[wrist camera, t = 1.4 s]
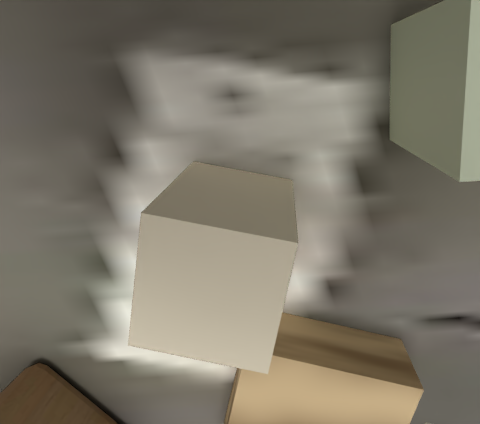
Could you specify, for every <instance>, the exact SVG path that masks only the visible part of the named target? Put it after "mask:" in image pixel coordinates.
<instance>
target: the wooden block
mask: <svg viewBox="0 0 480 424" xmlns="http://www.w3.org/2000/svg"><path fill="white" fill-rule="evenodd" d="M0 424H118V423H117V422H116V421H114V420H113V419H112V418H111V417H109V416H108V415H107V414H106V413H105V412H103V411H102V410H101V409H100V408H98V407H97V406H96V405H95V404H94V403H92V402H91V401H90V400H89V399H87V398H86V397H85V396H84V395H83V394H81V393H80V392H79V391H78V390H77V389H75V388H74V387H73V386H72V385H70V384H69V383H68V382H67V381H66V380H64V379H63V378H62V377H61V376H59V375H58V374H57V373H56V372H55V371H53V370H52V369H51V368H50V367H48V366H47V365H44V364H41V363H37V364H35V365H33V366H30V367H28V368H26V369H25V370H24V371H23V372H22V373H21V374H20V375H19V376H18V377H17V378H15V379H14V380H13V381H12V382H11V383H10V384H9V385H8V386H7V387H6V388H5V389H4V390H3V391H2V392H1V393H0Z"/></svg>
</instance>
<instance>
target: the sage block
mask: <svg viewBox="0 0 480 424" xmlns="http://www.w3.org/2000/svg"><path fill="white" fill-rule="evenodd" d="M389 140H391V141H393V142H394V143H396V144H397V145H399V146H401V147H402V148H404V149H406V150H407V151H409V152H411V153H412V154H414V155H416V156H417V157H419V158H421V159H422V160H424V161H426V162H427V163H429V164H431V165H432V166H434V167H436V168H437V169H439V170H440V171H442V172H444V173H445V174H447V175H449V176H450V177H452V178H454V179H455V180H457V181H459V182H468V181H480V0H444V1H442V2H440V3H438V4H435V5H433V6H431V7H429V8H427V9H425V10H422V11H420V12H418V13H416V14H414V15H411V16H409V17H407V18H405V19H403V20H400V21H398V22H396V23H394V24H392V25H391V53H390V133H389Z"/></svg>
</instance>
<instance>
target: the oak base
mask: <svg viewBox="0 0 480 424" xmlns="http://www.w3.org/2000/svg"><path fill="white" fill-rule="evenodd" d="M423 391H424V389H423V387H422V385H421V383H420V380H419V378H418V376H417V374H416V371H415V369H414V367H413V365H412V363H411V360H410V358H409V356H408V354H407V352H406V349H405V347H404V345H403V343H402V340H401V339H398V338H393V337H389V336H384V335H380V334H376V333H371V332H367V331H362V330H358V329H353V328H349V327H345V326H340V325H336V324H331V323H327V322H323V321H318V320H314V319H309V318H305V317H300V316H296V315H292V314H287V313H283V312H282V316H281V320H280V324H279V329H278V333H277V337H276V342H275V346H274V350H273V355H272V359H271V363H270V367H269V372H268V374H264V373H260V372H255V371H250V370H245V369H240V368H237V371H236V375H235V379H234V383H233V387H232V391H231V396H230V400H229V404H228V408H227V412H226V417H225V421H224V424H410V422H411V419H412V417H413V414H414V412H415V410H416V407H417V405H418V403H419V400H420V398H421V395H422V393H423Z"/></svg>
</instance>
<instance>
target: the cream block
mask: <svg viewBox="0 0 480 424" xmlns="http://www.w3.org/2000/svg"><path fill="white" fill-rule="evenodd" d="M297 247H298V235H297V224H296V214H295V203H294V193H293V182H292V180H290V179H285V178H279V177H274V176H269V175H263V174H258V173H253V172H247V171H242V170H237V169H231V168H226V167H221V166H215V165H210V164H205V163H199V162H193V163H192V164H191V165H190V166H188V167H187V168H186V169H185V170H184V171H183V172H182V173H181V174H180V175H179V176H178V177H177V178H176V179H175V180H174V181H173V182H172V183H171V184H170V185H169V186H168V187H167V188H166V189H165V190H164V191H163V192H162V193H161V194H160V195H159V196H158V197H157V198H156V199H155V200H154V201H153V202H152V203H151V204H150V205H149V206H148V207H147V208H146V209H145V210H144V211H142V212H141V219H140V229H139V239H138V250H137V260H136V270H135V280H134V290H133V300H132V310H131V320H130V330H129V340H128V346H133V347H138V348H143V349H148V350H153V351H158V352H162V353H167V354H172V355H177V356H182V357H187V358H192V359H196V360H201V361H206V362H211V363H216V364H221V365H226V366H230V367H235V368H240V369H245V370H250V371H255V372H260V373H264V374H268V372H269V367H270V363H271V359H272V355H273V350H274V346H275V342H276V337H277V333H278V329H279V324H280V320H281V316H282V311H283V307H284V303H285V298H286V294H287V290H288V285H289V281H290V277H291V273H292V268H293V264H294V260H295V255H296V251H297Z"/></svg>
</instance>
